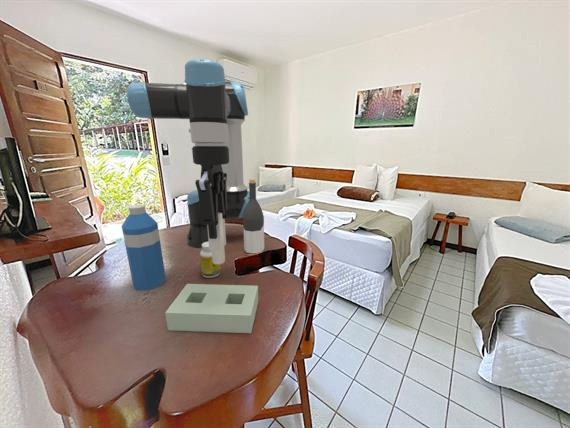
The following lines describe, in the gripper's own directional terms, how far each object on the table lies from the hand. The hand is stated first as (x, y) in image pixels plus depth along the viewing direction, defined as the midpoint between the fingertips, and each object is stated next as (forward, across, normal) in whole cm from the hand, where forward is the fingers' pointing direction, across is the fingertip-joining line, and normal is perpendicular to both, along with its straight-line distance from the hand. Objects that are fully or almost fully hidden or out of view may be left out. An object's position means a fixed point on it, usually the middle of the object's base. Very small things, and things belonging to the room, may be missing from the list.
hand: (218, 247), depth 58 cm
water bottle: (+19, -13, -28) cm, 36 cm away
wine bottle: (+19, -37, +1) cm, 42 cm away
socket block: (+19, 0, -2) cm, 19 cm away
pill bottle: (+19, -20, -10) cm, 29 cm away
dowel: (+4, 0, 0) cm, 4 cm away
